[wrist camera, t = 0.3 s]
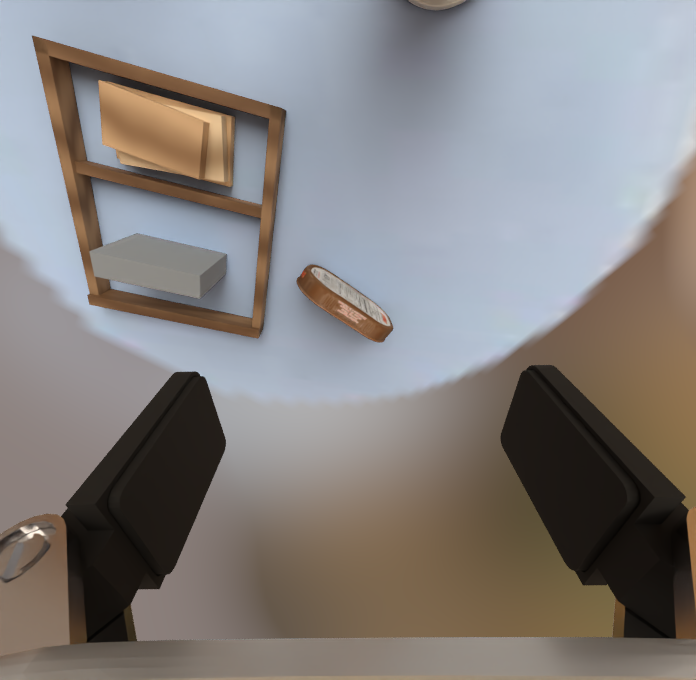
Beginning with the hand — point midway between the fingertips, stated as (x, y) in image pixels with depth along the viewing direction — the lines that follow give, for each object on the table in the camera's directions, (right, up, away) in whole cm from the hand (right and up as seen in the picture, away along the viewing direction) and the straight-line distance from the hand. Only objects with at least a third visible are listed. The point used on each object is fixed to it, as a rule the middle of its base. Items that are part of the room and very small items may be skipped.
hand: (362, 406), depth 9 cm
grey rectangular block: (-24, +14, +34) cm, 44 cm away
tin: (0, +9, +37) cm, 38 cm away
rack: (-23, +18, +31) cm, 43 cm away
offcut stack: (-21, +26, +27) cm, 43 cm away
